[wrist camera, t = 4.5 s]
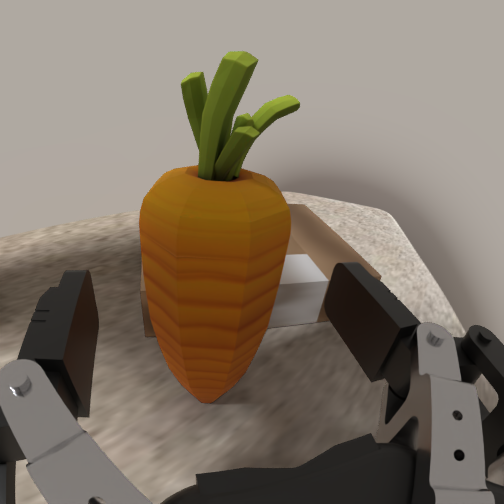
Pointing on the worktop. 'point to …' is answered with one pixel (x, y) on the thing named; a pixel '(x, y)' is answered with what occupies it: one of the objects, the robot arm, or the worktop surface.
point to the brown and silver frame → (299, 272)
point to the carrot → (215, 238)
